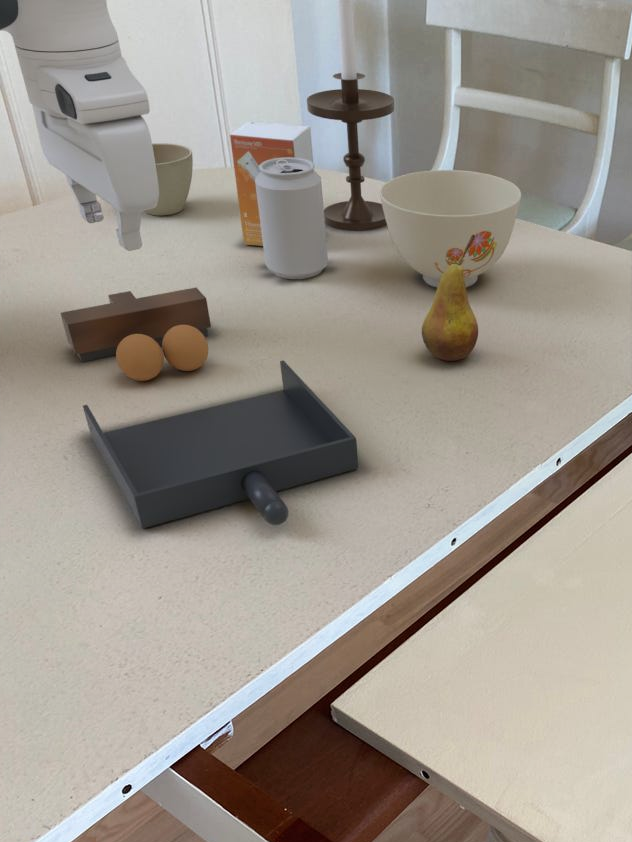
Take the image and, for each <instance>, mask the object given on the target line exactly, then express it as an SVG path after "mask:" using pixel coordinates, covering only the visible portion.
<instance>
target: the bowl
mask: <svg viewBox="0 0 632 842" xmlns="http://www.w3.org/2000/svg"><path fill="white" fill-rule="evenodd" d="M379 198H380V204H382V207H383V211H384V215H385V219H386V223H387V225H386V227H387V229H388V233H389V236H390V239H391V243H392V244H393V246H394V248H395V250H396V252H397V253H398V255H399V256H400V258H401V259H402V260H403V261H404V262H405V263H406V264H407V265H408V266H409V267H410V268H412V269H413V270H414V271H416V272H418V273H419V274H421V275H422V279H423V281H424V282H425V283H426V284H427V285H429V286H430V287H433V288H436V289H437V288H438V285H439V282H440V280H441V277H442V275H443V273H444V272H445V271H446V269H447V268H448V267H449V266H451V265H452V264H457V263H458V261H459V259H460V258H461V256H462V254H463V253H464V250H465V248H466V246H467V244H468V242H469V240H470V238H471V236H472V235H475V238H474V240H473V242H472V243H471V245H470V246H469V248H468V250H467V252H466V254H465V256H464V258H463V260H462V261H461V264H460V265H461V267H462V268H463V275H464V279H465V285H466V288H470V287H471V286H473V285H474V284H475V283H476V282H477V281H478V278H479V277H478V276H479V275H482V274H483V273H485V272H486V271H487V270H490V268H491V267H492V266H494V265H495V264H496V263H497V262H498V261H499V260H500V258H501V257H502V255H503V254H504V252H505V251H506V249H507V247H508V245H509V243H510V239H511V236H512V235H513V230H514V227H515V223H516V219H517V216H518V212H519V208H520V205H521V199H522V191H521V190H520V188H519V187H518V186H517V185H515V183H513V182H511V181H509V180H507V179H505V178H502V177H499V176H496V175H492V174H489V173H484V172H478V171H472V170H461V169H460V170H459V169H458V170H457V169H434V170H424V171H415V172H411V173H407V174H403V175H399V176H396V177H394V178H391V179H390V180H388V181H386V182H385V183H384V184H383V185H382V186H381V187H380V189H379Z"/></svg>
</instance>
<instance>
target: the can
mask: <svg viewBox="0 0 632 842" xmlns="http://www.w3.org/2000/svg"><path fill="white" fill-rule="evenodd" d="M315 168H316V167H315V163H314V162H313V163H312V162H311V161H309V160H306V159H302V158H292V157H286V158H275V159H270V160H267V161H264V162H262V163H261V164H260V165H259V170H261V172H260V173H259V174H258V176H257V177H256V179H255V185H256V193H257V201H258V209H259V217H260V224H261V232H262V240H263V246H262V247H263V255H264V263H265V267H266V268H267V269H268V270H269V271H271V272H272V273H273V274H274V275H275V276H277V277H279V278H282V279H287V280H304V279H310V278H313V277H316V276H318V275H320V274H321V273H322V271H323V270H324V269H325V268H326V267H327V266H328V264H329V257H328V256H329V255H328V246H327V233H326V223H325V219H324V210H325V207H324V196H323V186H322V185H323V184H322V177H321V176H320V174H318V173H317V171H316V170H315ZM313 169H314V170H313Z"/></svg>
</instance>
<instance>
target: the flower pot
mask: <svg viewBox="0 0 632 842" xmlns="http://www.w3.org/2000/svg"><path fill="white" fill-rule="evenodd" d="M152 146H153V152H154V158H155V164H156V171H157V178H158V186H159V198H158V203H157V206H156V207H155V208H153V209H149V210H144V211H143V212H144V213H146V214H148V215H151V216H158V217H159V216H160V217H161V216H170V215H175V214H177V213H180V212H181V211H183V209H184V207H185V205H186V202H187V199H188V196H189V194H190V193H189V192H190V189H191V184H192V178H193V166H194V164H193V163H194V162H193V150H192V148H190V147H188V146H186V145H183V144H177V143H168V142H167V143H166V142H155V143H154V142H152Z"/></svg>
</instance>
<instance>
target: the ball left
mask: <svg viewBox="0 0 632 842" xmlns="http://www.w3.org/2000/svg"><path fill="white" fill-rule="evenodd" d="M115 359H116V363H117V366H118V368H119V369H120V371H121V372H122V373H123V374H124V375H125V376H127V377H128V378H129V379H131V380H134V381H140V382H144V381H150V380H152V379H154V378H155V377H157V376H158V375H159V374H160V372H161V371H162V369H163V366H164V363H165V356H164V354H163V350H162V346H159V344H158V343H157V342H156V341H155V340H154V339H152V338H151V337H149V336H147V335H143V334H132V335H129V336H127V337H125V338H124V339H123V340H122V341H121V342H120V343H119V345H118V347H117V350H116V355H115Z"/></svg>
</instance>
